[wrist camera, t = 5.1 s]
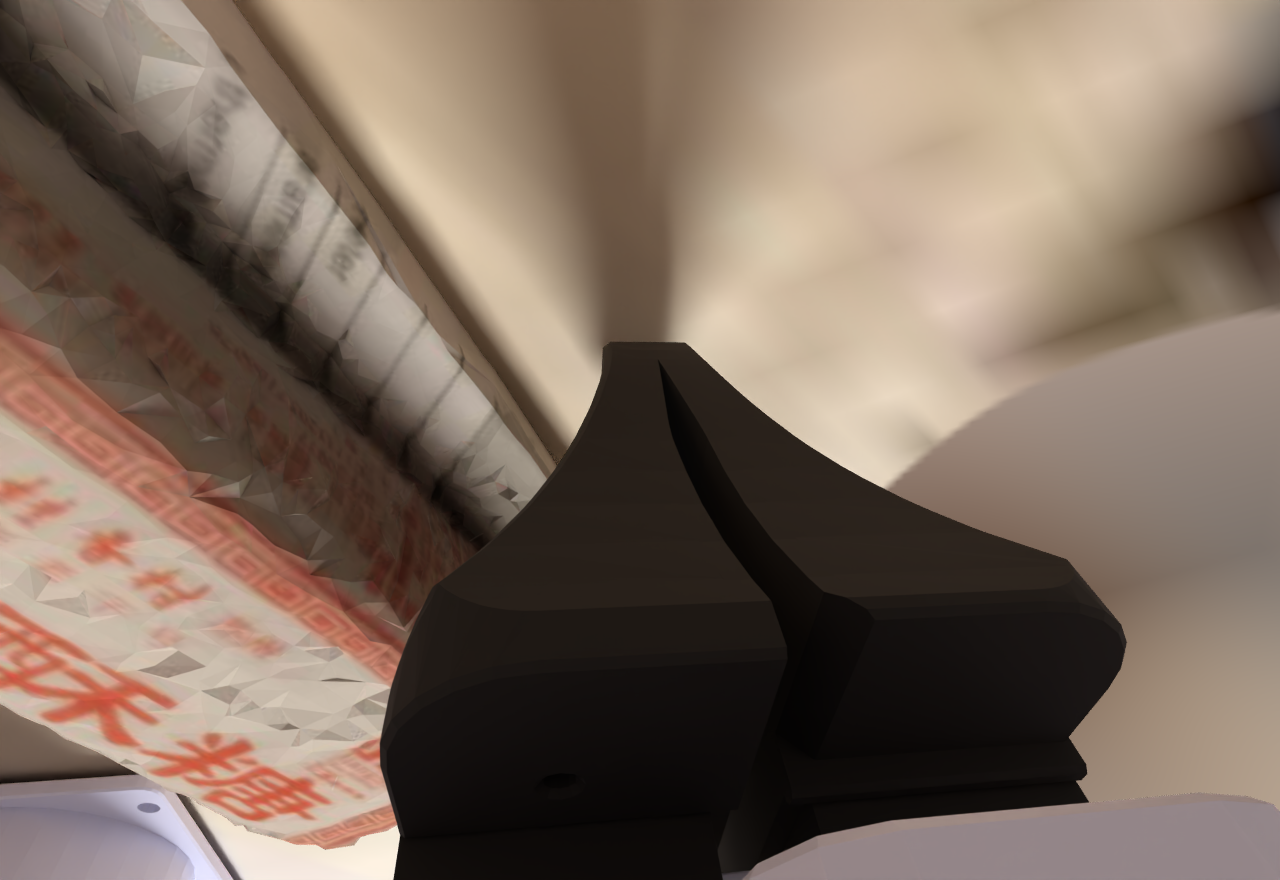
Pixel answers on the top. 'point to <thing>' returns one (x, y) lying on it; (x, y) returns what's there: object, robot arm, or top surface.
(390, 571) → the packaged product
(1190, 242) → the top surface
